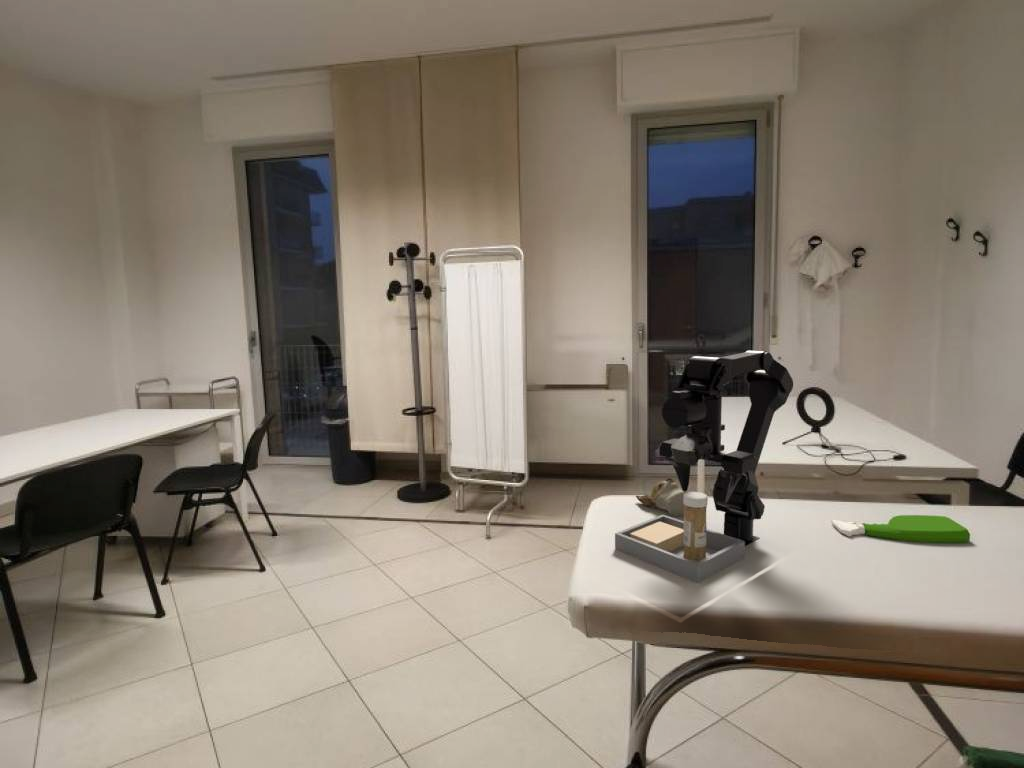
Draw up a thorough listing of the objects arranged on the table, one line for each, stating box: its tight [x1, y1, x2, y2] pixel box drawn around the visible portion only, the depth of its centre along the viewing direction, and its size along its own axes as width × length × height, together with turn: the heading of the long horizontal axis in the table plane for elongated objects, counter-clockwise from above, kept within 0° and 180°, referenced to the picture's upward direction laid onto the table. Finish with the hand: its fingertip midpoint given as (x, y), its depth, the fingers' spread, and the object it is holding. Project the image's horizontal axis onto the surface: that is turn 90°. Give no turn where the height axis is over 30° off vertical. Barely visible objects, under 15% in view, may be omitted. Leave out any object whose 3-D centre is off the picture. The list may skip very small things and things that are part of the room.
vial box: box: [630, 522, 684, 552], centre depth 123 cm, size 10×7×3 cm
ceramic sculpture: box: [635, 477, 689, 517], centre depth 145 cm, size 11×9×15 cm
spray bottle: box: [830, 514, 971, 544], centre depth 128 cm, size 3×11×25 cm
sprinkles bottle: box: [683, 491, 709, 563], centre depth 116 cm, size 5×5×14 cm
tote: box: [614, 514, 746, 584], centre depth 119 cm, size 16×20×4 cm
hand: (704, 496), depth 117 cm, fingers open, 9 cm apart
